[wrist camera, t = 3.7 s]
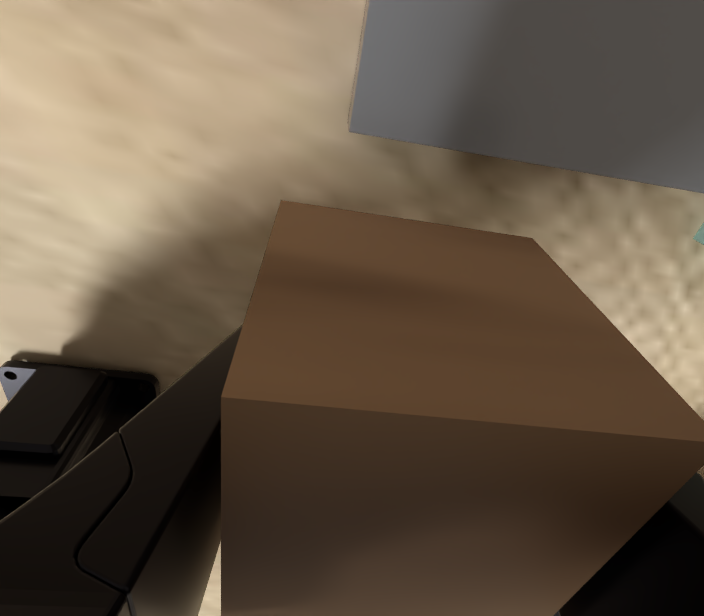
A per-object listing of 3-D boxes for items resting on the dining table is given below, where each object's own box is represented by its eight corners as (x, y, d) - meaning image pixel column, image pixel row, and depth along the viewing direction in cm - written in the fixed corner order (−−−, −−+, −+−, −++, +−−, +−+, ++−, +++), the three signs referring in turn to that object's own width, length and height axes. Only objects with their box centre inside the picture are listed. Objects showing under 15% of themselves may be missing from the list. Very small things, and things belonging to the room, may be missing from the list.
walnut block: (456, 410, 11) (529, 639, 7) (265, 392, 11) (221, 632, 6) (532, 238, 8) (724, 442, 4) (280, 200, 8) (221, 396, 4)
